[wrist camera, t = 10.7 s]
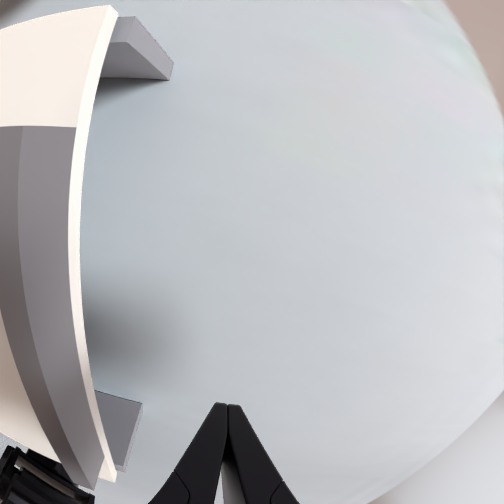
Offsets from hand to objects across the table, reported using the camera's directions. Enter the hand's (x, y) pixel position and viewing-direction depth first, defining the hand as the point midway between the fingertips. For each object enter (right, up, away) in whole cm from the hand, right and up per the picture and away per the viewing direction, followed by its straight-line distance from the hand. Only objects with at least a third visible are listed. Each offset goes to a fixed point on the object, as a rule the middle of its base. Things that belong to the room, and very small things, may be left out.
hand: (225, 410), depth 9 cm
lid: (-13, +3, 0) cm, 13 cm away
